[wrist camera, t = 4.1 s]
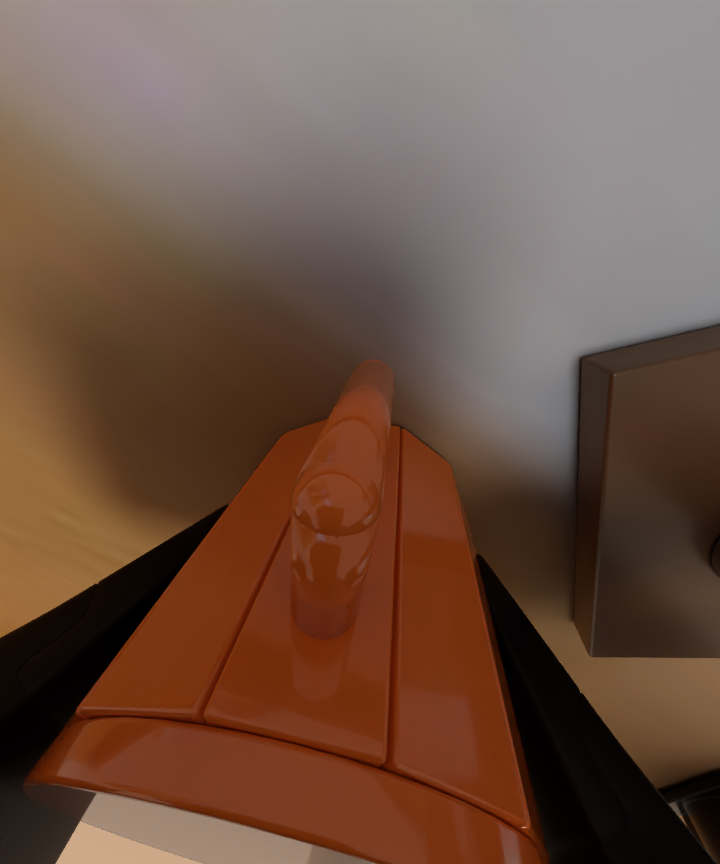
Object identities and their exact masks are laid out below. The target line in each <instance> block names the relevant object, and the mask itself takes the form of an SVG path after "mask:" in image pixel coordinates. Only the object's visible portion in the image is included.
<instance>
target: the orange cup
mask: <svg viewBox="0 0 720 864" xmlns="http://www.w3.org/2000/svg"><path fill="white" fill-rule="evenodd" d="M394 389H395V378H394V374H393V372H392V370H391V369H390V367H389V366H388V365H387V364H385V363H384V362H382V361H379V360H367V361H364V362H362V363H360V364H359V365H358V366H357V367H356V368H355V369H354V371H353V372H352V374H351V376H350V378H349V380H348V382H347V384H346V386H345V388H344V389H343V391H342V393H341V395H340V397H339V399H338V401H337V403H336V405H335V407H334V408H333V410H332V412H331V414H330V416H329V418H328V419H326V420H322V421H319V422H316V423H313V424H310V425H307V426H304V427H301V428H298V429H295V430H292V431H289V432H286V433H285V434H284V435H282V436H281V437H280V438H279V439H278V441H277V442H276V443H275V445H274V446H273V447H272V449H271V450H270V451H269V453H268V454H267V455H266V457H265V458H264V459H263V461H262V462H261V463H260V465H259V466H258V467H257V469H256V470H255V471H254V473H253V474H252V475H251V477H250V478H249V479H248V481H247V482H246V483H245V485H244V486H243V487H242V489H241V490H240V491H239V493H238V494H237V495H236V497H235V498H234V499H233V501H232V502H231V503H230V505H229V506H228V507H227V509H226V510H225V511H224V513H223V514H222V515H221V517H220V518H219V519H218V521H217V522H216V523H215V525H214V526H213V527H212V529H211V530H210V531H209V533H208V534H207V535H206V537H205V538H204V539H203V541H202V542H201V543H200V545H199V546H198V547H197V549H196V550H195V551H194V553H193V554H192V555H191V557H190V558H189V559H188V560H187V562H186V563H185V564H184V566H183V567H182V568H181V570H180V571H179V572H178V574H177V575H176V576H175V578H174V579H173V580H172V582H171V583H170V584H169V586H168V587H167V588H166V590H165V591H164V592H163V594H162V595H161V596H160V598H159V599H158V600H157V602H156V603H155V604H154V606H153V607H152V608H151V610H150V611H149V612H148V614H147V615H146V616H145V618H144V619H143V620H142V622H141V623H140V624H139V626H138V627H137V628H136V630H135V631H134V632H133V634H132V635H131V636H130V638H129V639H128V640H127V642H126V643H125V644H124V646H123V647H122V648H121V650H120V651H119V652H118V654H117V655H116V656H115V658H114V659H113V660H112V662H111V663H110V664H109V666H108V667H107V668H106V670H105V671H104V672H103V674H102V675H101V676H100V678H99V679H98V680H97V682H96V683H95V684H94V686H93V687H92V688H91V690H90V691H89V692H88V694H87V695H86V696H85V698H84V699H83V700H82V702H81V703H80V704H79V706H78V707H77V708H76V710H75V711H74V713H73V714H72V716H71V717H70V719H69V720H68V722H67V723H66V724H65V726H64V727H63V729H62V730H61V732H60V733H58V735H57V736H56V737H55V739H54V740H53V741H52V743H51V744H50V745H49V747H48V748H47V749H46V751H45V752H44V754H43V755H42V756H41V758H40V759H39V760H38V762H37V763H36V764H35V766H34V767H33V768H32V770H31V771H30V772H29V774H28V775H27V776H26V778H25V779H24V782H23V784H22V787H23V790H24V792H25V793H26V794H27V795H28V796H29V797H31V798H33V799H34V800H36V801H37V802H39V803H41V804H43V805H45V806H47V807H49V808H51V809H53V810H56V811H58V812H60V813H62V814H65V815H67V816H69V817H72V818H74V819H77V820H79V821H82V822H84V823H87V824H89V825H92V826H95V827H97V828H100V829H103V830H105V831H108V832H111V833H114V834H116V835H119V836H122V837H125V838H128V839H131V840H133V841H136V842H139V843H142V844H145V845H148V846H151V847H154V848H157V849H160V850H163V851H166V852H169V853H172V854H175V855H178V856H182V857H185V858H188V859H191V860H194V861H197V862H201V863H204V864H549V854H548V850H547V846H546V842H545V838H544V833H543V829H542V825H541V821H540V817H539V813H538V809H537V804H536V800H535V796H534V792H533V788H532V784H531V780H530V775H529V771H528V767H527V763H526V759H525V755H524V751H523V746H522V742H521V738H520V734H519V730H518V726H517V722H516V717H515V713H514V709H513V705H512V701H511V697H510V693H509V688H508V684H507V680H506V676H505V672H504V668H503V663H502V659H501V655H500V651H499V647H498V643H497V639H496V634H495V630H494V626H493V622H492V618H491V614H490V610H489V605H488V601H487V597H486V593H485V589H484V585H483V581H482V576H481V572H480V568H479V564H478V560H477V556H476V552H475V547H474V543H473V539H472V535H471V531H470V527H469V523H468V518H467V514H466V510H465V506H464V503H463V500H462V497H461V494H460V491H459V488H458V485H457V482H456V479H455V476H454V473H453V470H452V467H451V466H450V465H449V463H448V462H447V461H446V460H445V459H443V458H442V457H441V456H439V455H438V454H437V453H436V452H434V451H433V450H432V449H430V448H429V447H428V446H426V445H425V444H424V443H423V442H421V441H420V440H419V439H417V438H416V437H415V436H413V435H412V434H411V433H410V432H408V431H407V430H406V429H404V428H403V429H402V430H401V428H400V427H399V426H394V425H391V417H392V408H393V398H394Z"/></svg>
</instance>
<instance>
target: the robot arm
mask: <svg viewBox="0 0 720 864" xmlns="http://www.w3.org/2000/svg"><path fill="white" fill-rule="evenodd" d="M229 505H230V504H227V505H225V506H223V507H221V508H220V509H218V510H216V511H215V512H213V513H211V514H210V515H208V516H206V517H205V518H203V519H201V520H200V521H198V522H196V523H195V524H193V525H192V526H190V527H188V528H187V529H185V530H183V531H182V532H180V533H178V534H177V535H175V536H173V537H172V538H170V539H168V540H167V541H165V542H164V543H162V544H160V545H159V546H157V547H155V548H154V549H152V550H150V551H149V552H147V553H145V554H144V555H142V556H141V557H139V558H137V559H136V560H134V561H132V562H131V563H129V564H127V565H126V566H124V567H122V568H121V569H119V570H117V571H116V572H114V573H113V574H111V575H109V576H108V577H106V578H104V579H103V580H101V581H100V582H99V583H98V584H94V585H93V586H91V587H89V588H88V589H86V590H84V591H83V592H81V593H79V594H78V595H76V596H74V597H73V598H71V599H69V600H68V601H66V602H64V603H62V604H61V605H59V606H57V607H56V608H54V609H52V610H50V611H49V612H47V613H45V614H43V615H41V616H40V617H38V618H36V619H34V620H32V621H31V622H29V623H27V624H25V625H23V626H21V627H20V628H18V629H16V630H14V631H12V632H10V633H8V634H7V635H5V636H3V637H1V638H0V864H55V863H56V862H57V860H58V858H59V857H60V855H61V853H62V851H63V850H64V848H65V846H66V844H67V843H68V841H69V839H70V838H71V836H72V834H73V832H74V831H75V829H76V827H77V825H78V823H79V822H80V821H79V820H77V819H74V818H72V817H69V816H67V815H65V814H62V813H60V812H58V811H56V810H53V809H51V808H49V807H47V806H45V805H43V804H41V803H39V802H37V801H36V800H34V799H33V798H31V797H29V796H28V795H27V794H26V793H25V792H24V790H23V787H22V784H23V782H24V779H25V778H26V776H27V775H28V774H29V772H30V771H31V770H32V768H33V767H34V766H35V764H36V763H37V762H38V760H39V759H40V758H41V756H42V755H43V754H44V752H45V751H46V749H47V748H48V747H49V745H50V744H51V743H52V741H53V740H54V739H55V737H56V736H57V735H58V733H60V732H61V730H62V729H63V727H64V726H65V724H66V723H67V722H68V720H69V719H70V717H71V716H72V714H73V713H74V711H75V710H76V708H77V707H78V706H79V704H80V703H81V702H82V700H83V699H84V698H85V696H86V695H87V694H88V692H89V691H90V690H91V688H92V687H93V686H94V684H95V683H96V682H97V680H98V679H99V678H100V676H101V675H102V674H103V672H104V671H105V670H106V668H107V667H108V666H109V664H110V663H111V662H112V660H113V659H114V658H115V656H116V655H117V654H118V652H119V651H120V650H121V648H122V647H123V646H124V644H125V643H126V642H127V640H128V639H129V638H130V636H131V635H132V634H133V632H134V631H135V630H136V628H137V627H138V626H139V624H140V623H141V622H142V620H143V619H144V618H145V616H146V615H147V614H148V612H149V611H150V610H151V608H152V607H153V606H154V604H155V603H156V602H157V600H158V599H159V598H160V596H161V595H162V594H163V592H164V591H165V590H166V588H167V587H168V586H169V584H170V583H171V582H172V580H173V579H174V578H175V576H176V575H177V574H178V572H179V571H180V570H181V568H182V567H183V566H184V564H185V563H186V562H187V560H188V559H189V558H190V557H191V555H192V554H193V553H194V551H195V550H196V549H197V547H198V546H199V545H200V543H201V542H202V541H203V539H204V538H205V537H206V535H207V534H208V533H209V531H210V530H211V529H212V527H213V526H214V525H215V523H216V522H217V521H218V519H219V518H220V517H221V515H222V514H223V513H224V511H225V510H226V509H227V507H228V506H229ZM476 556H477V560H478V564H479V568H480V572H481V576H482V581H483V585H484V589H485V593H486V597H487V601H488V605H489V610H490V614H491V618H492V622H493V626H494V630H495V634H496V639H497V643H498V647H499V651H500V655H501V659H502V663H503V668H504V672H505V676H506V680H507V684H508V688H509V693H510V697H511V701H512V705H513V709H514V713H515V717H516V722H517V726H518V730H519V734H520V738H521V742H522V746H523V751H524V755H525V759H526V763H527V767H528V771H529V775H530V780H531V784H532V788H533V792H534V796H535V800H536V804H537V809H538V813H539V817H540V821H541V825H542V829H543V833H544V838H545V842H546V846H547V850H548V854H549V864H720V774H719V775H715V776H712V777H709V778H706V779H704V780H701V781H698V782H695V783H692V784H689V785H686V786H683V787H680V788H677V789H674V790H671V791H669V792H666V793H663V794H660V793H659V792H658V790H657V789H656V788H655V787H654V786H653V784H652V783H651V782H650V781H649V779H648V778H647V777H646V776H645V774H644V773H643V772H642V771H641V769H640V768H639V767H638V766H637V764H636V763H635V762H634V761H633V759H632V758H631V757H630V756H629V754H628V753H627V752H626V751H625V749H624V748H623V747H622V746H621V744H620V743H619V742H618V740H617V739H616V738H615V736H614V735H613V734H612V732H611V731H610V730H609V728H608V727H607V726H606V724H605V723H604V722H603V720H602V719H601V718H600V716H599V715H598V714H597V712H596V711H595V710H594V708H593V707H592V706H591V704H590V703H589V701H588V700H587V699H586V697H585V696H584V695H583V694H582V693H580V690H579V688H578V687H577V685H576V684H575V683H574V681H573V680H572V678H571V677H570V676H569V674H568V673H567V672H566V670H565V669H564V667H563V666H562V665H561V663H560V662H559V661H558V659H557V658H556V656H555V655H554V654H553V652H552V651H551V650H550V648H549V647H548V646H547V644H546V643H545V641H544V640H543V639H542V637H541V636H540V635H539V633H538V632H537V630H536V629H535V628H534V626H533V625H532V624H531V622H530V621H529V620H528V618H527V617H526V615H525V614H524V613H523V611H522V610H521V609H520V607H519V606H518V604H517V603H516V602H515V600H514V599H513V598H512V596H511V595H510V593H509V592H508V591H507V589H506V588H505V587H504V585H503V584H502V583H501V581H500V580H499V578H498V577H497V576H496V574H495V573H494V572H493V570H492V569H491V567H490V566H489V565H488V563H487V562H486V561H485V559H484V558H483V557H482V556H481V555H479V554H476ZM678 815H680V816H682V817H683V819H684V821H685V823H686V825H687V826H686V825H685V823H684V822H683V821H682V820H681V819H680V817H679V816H678Z"/></svg>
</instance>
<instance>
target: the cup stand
mask: <svg viewBox="0 0 720 864" xmlns="http://www.w3.org/2000/svg"><path fill="white" fill-rule="evenodd" d="M574 625H575V627H576V629H577V631H578V633H579V635H580V638H581V640H582V642H583V644H584V646H585V648H586V650H587V652H588V654H589V656H590V657H651V658H720V325H719V326H715V327H711V328H706V329H702V330H698V331H694V332H689V333H685V334H681V335H677V336H673V337H668V338H664V339H660V340H656V341H651V342H647V343H643V344H639V345H634V346H630V347H626V348H622V349H617V350H613V351H609V352H605V353H600V354H596V355H592V356H588V357H584V358H583V359H582V369H581V404H580V438H579V473H578V508H577V543H576V578H575V613H574Z"/></svg>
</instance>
